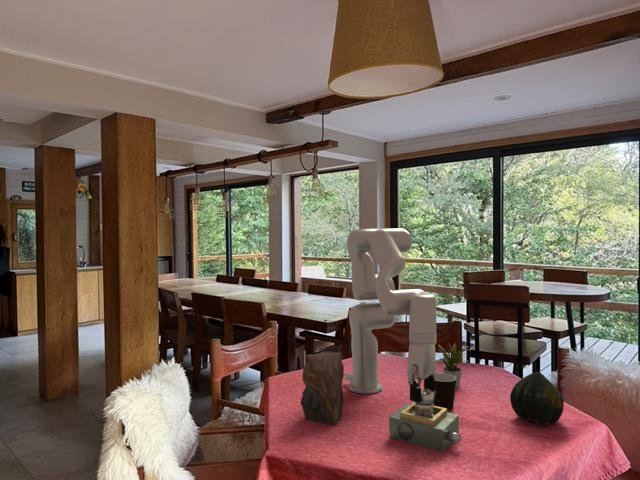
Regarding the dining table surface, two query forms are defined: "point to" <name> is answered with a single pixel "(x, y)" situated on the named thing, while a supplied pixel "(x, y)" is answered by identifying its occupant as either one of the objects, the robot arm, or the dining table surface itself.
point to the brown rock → (323, 387)
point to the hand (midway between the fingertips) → (422, 395)
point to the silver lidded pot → (425, 404)
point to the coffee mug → (444, 390)
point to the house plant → (453, 362)
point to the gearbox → (425, 428)
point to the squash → (537, 399)
